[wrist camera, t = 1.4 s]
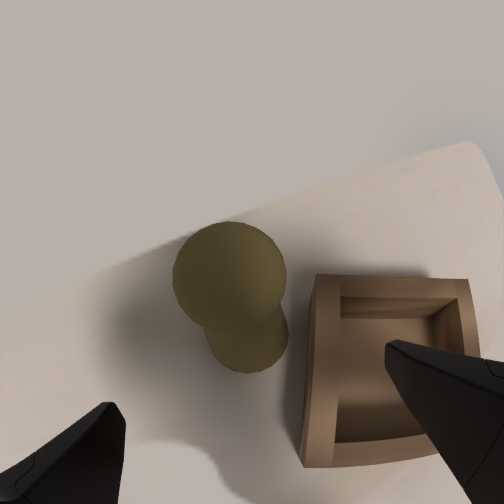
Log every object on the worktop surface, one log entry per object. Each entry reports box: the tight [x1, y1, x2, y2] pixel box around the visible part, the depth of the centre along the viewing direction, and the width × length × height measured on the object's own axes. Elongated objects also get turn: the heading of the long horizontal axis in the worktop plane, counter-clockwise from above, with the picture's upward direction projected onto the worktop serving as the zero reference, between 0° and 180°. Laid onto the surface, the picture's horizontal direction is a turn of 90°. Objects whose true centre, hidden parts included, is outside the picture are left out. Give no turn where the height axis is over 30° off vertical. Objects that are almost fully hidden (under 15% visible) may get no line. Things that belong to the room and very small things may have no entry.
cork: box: [173, 222, 289, 373], centre depth 16 cm, size 6×6×11 cm
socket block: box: [298, 274, 481, 468], centre depth 16 cm, size 12×12×4 cm
